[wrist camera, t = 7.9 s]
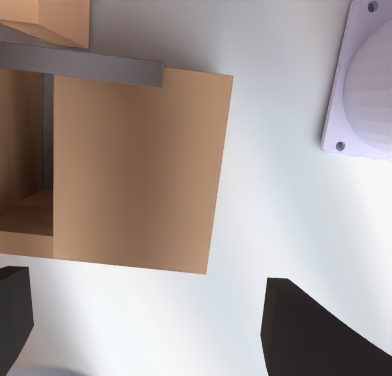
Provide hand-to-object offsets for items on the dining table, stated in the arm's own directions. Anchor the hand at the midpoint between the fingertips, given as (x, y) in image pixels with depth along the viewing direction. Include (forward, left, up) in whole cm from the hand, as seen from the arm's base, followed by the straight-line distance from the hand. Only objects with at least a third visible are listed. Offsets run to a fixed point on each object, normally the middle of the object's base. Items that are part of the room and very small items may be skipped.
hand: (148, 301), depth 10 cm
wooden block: (+6, -3, -10) cm, 12 cm away
